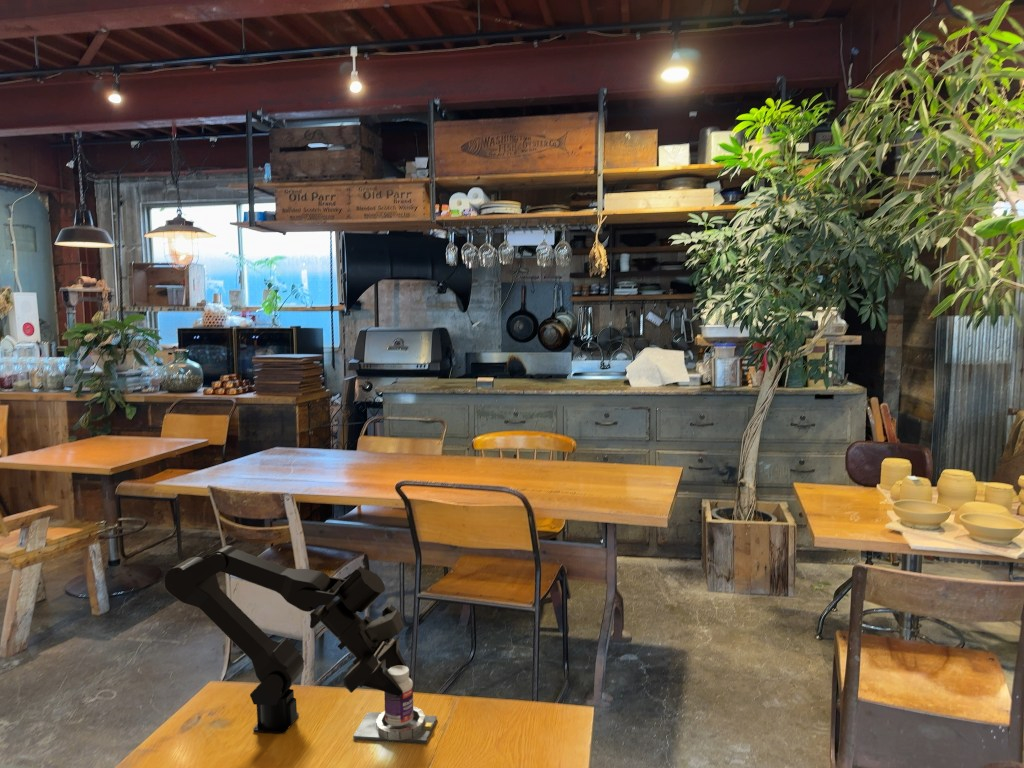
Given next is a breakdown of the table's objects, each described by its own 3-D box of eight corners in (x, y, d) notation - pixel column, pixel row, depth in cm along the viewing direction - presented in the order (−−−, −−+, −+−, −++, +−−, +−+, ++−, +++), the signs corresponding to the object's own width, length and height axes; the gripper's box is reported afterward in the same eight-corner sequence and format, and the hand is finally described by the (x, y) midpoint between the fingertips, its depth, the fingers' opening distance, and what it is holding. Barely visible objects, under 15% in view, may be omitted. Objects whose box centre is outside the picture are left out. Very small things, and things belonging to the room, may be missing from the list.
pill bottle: (407, 728, 127) (406, 678, 126) (380, 725, 128) (379, 675, 127) (417, 712, 132) (416, 664, 131) (391, 709, 133) (390, 661, 132)
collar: (370, 738, 126) (369, 730, 126) (385, 711, 135) (385, 704, 135) (425, 742, 125) (425, 734, 125) (437, 714, 134) (437, 707, 134)
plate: (353, 739, 127) (353, 735, 127) (368, 715, 135) (367, 711, 135) (426, 744, 125) (426, 740, 125) (436, 719, 133) (436, 715, 133)
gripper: (358, 620, 119) (421, 684, 119) (391, 581, 138) (445, 636, 137) (317, 661, 121) (378, 724, 121) (355, 617, 140) (408, 672, 139)
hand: (405, 686), depth 129 cm, fingers closed on pill bottle, 5 cm apart
